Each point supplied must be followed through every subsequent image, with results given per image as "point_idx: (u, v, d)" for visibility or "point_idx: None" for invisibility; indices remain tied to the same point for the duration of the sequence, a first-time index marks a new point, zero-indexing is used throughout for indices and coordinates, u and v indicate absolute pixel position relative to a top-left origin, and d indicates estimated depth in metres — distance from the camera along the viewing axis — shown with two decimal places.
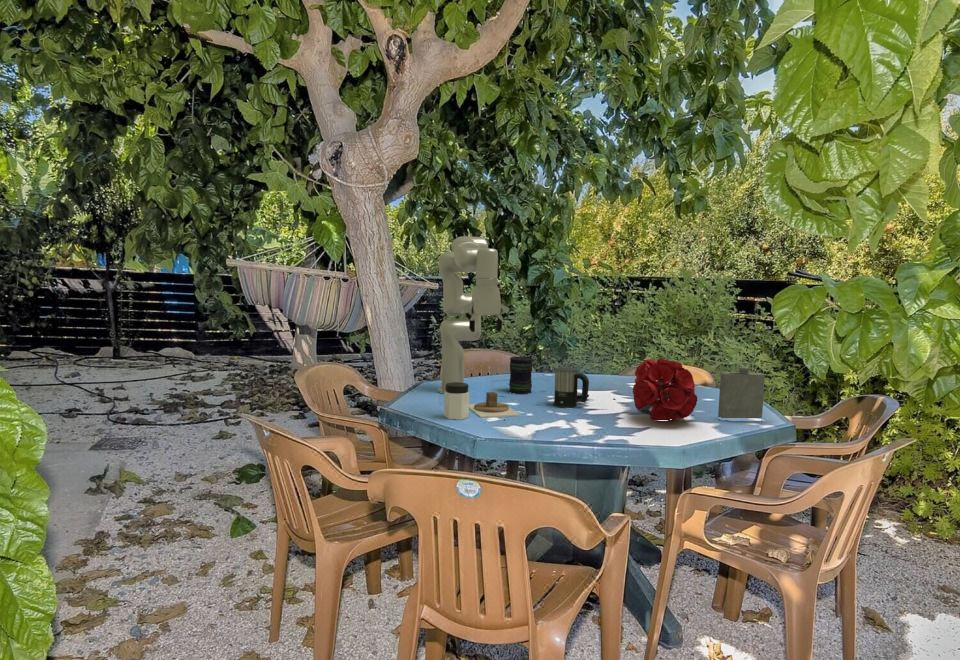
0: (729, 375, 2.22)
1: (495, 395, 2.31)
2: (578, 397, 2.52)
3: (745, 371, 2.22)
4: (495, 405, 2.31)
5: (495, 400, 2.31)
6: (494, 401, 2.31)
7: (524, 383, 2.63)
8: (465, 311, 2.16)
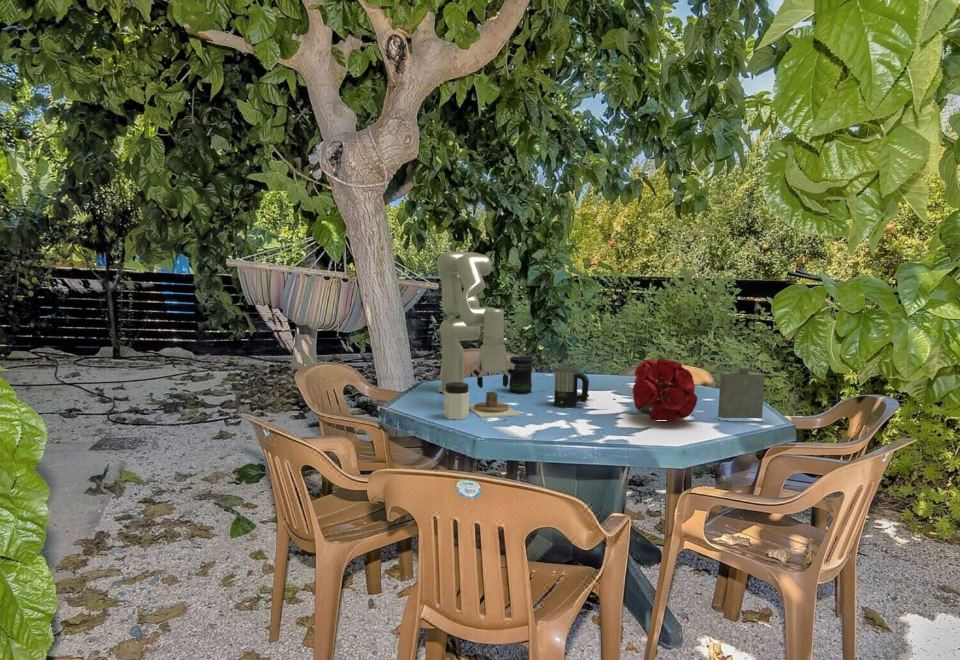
0: (729, 375, 2.22)
1: (495, 395, 2.31)
2: (578, 397, 2.52)
3: (745, 371, 2.22)
4: (495, 405, 2.31)
5: (495, 400, 2.31)
6: (494, 401, 2.31)
7: (524, 383, 2.63)
8: (473, 368, 2.28)
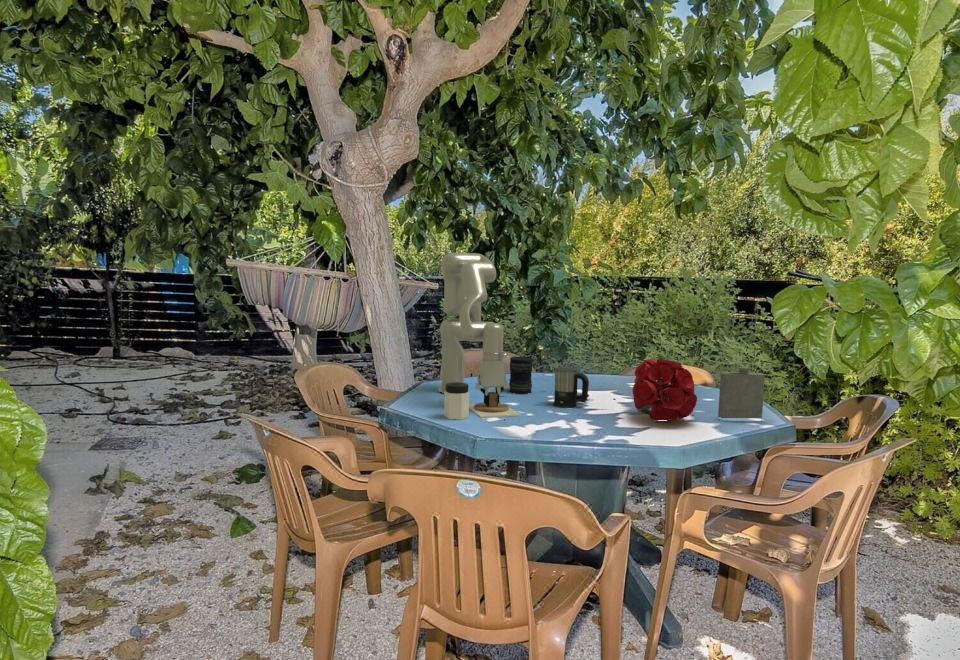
0: (729, 375, 2.22)
1: (495, 395, 2.31)
2: (578, 397, 2.52)
3: (745, 371, 2.22)
4: (495, 405, 2.31)
5: (495, 400, 2.31)
6: (494, 401, 2.31)
7: (524, 383, 2.63)
8: (479, 388, 2.30)
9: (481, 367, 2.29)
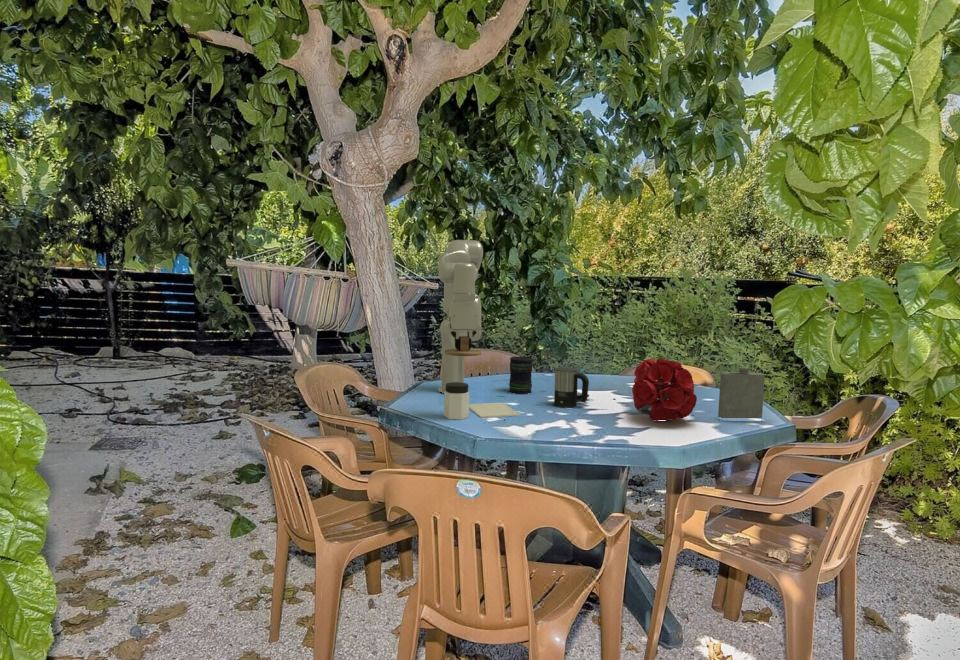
0: (729, 375, 2.22)
1: (467, 339, 2.18)
2: (578, 397, 2.52)
3: (745, 371, 2.22)
4: (467, 349, 2.18)
5: (467, 344, 2.18)
6: (466, 345, 2.18)
7: (524, 383, 2.63)
8: (449, 331, 2.17)
9: (451, 308, 2.16)
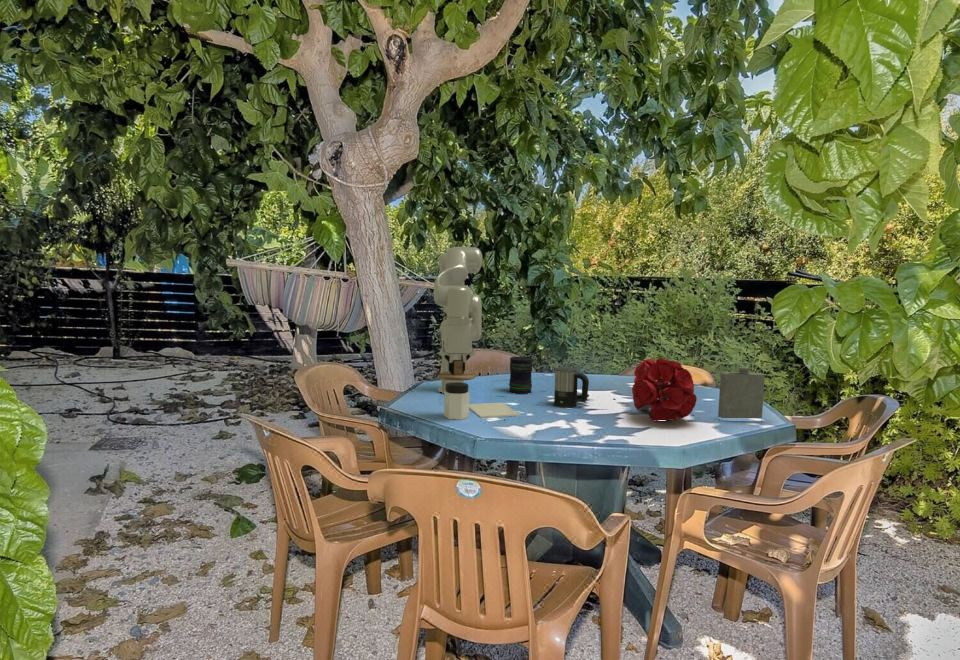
0: (729, 375, 2.22)
1: (460, 362, 2.17)
2: (578, 397, 2.52)
3: (745, 371, 2.22)
4: (460, 373, 2.17)
5: (460, 368, 2.17)
6: (459, 369, 2.17)
7: (524, 383, 2.63)
8: (443, 355, 2.16)
9: (445, 332, 2.15)
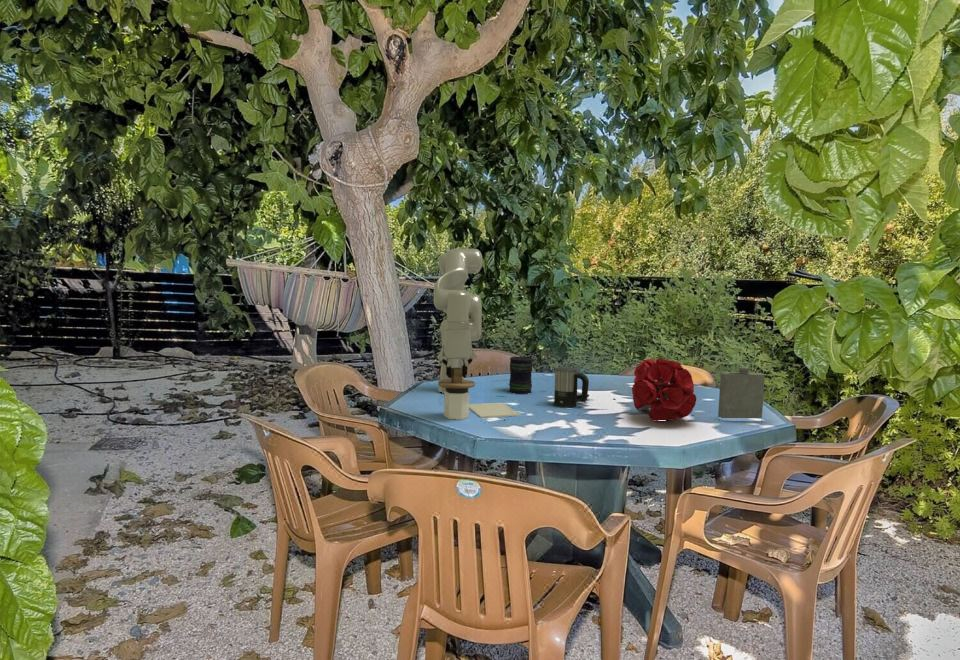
0: (729, 375, 2.22)
1: (460, 370, 2.17)
2: (578, 397, 2.52)
3: (745, 371, 2.22)
4: (460, 381, 2.18)
5: (460, 376, 2.18)
6: (459, 377, 2.18)
7: (524, 383, 2.63)
8: (441, 359, 2.16)
9: (445, 337, 2.16)
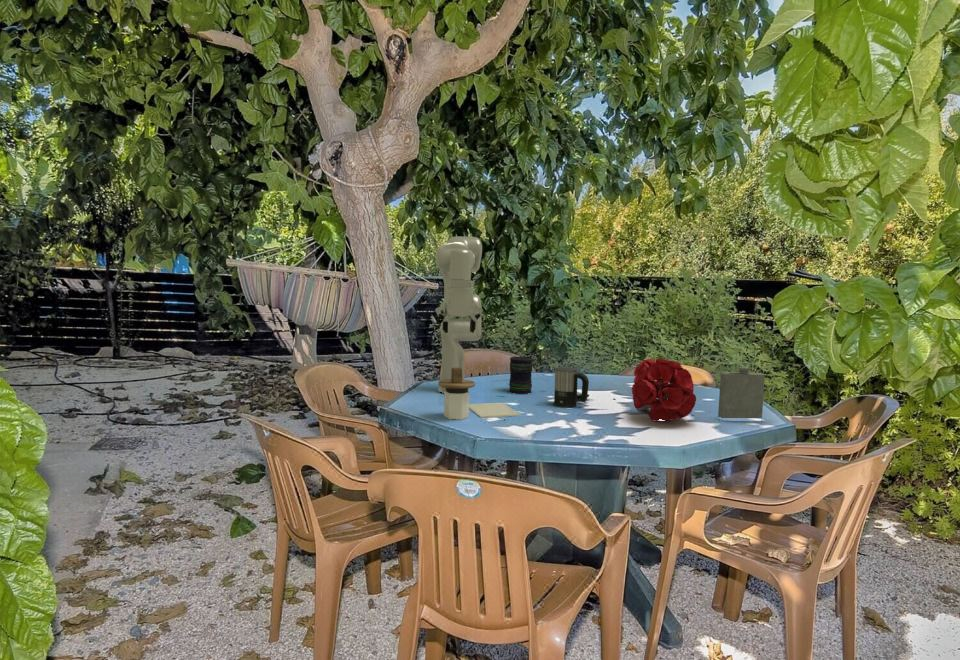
0: (729, 375, 2.22)
1: (460, 370, 2.17)
2: (578, 397, 2.52)
3: (745, 371, 2.22)
4: (460, 381, 2.18)
5: (460, 376, 2.18)
6: (459, 377, 2.18)
7: (524, 383, 2.63)
8: (438, 312, 2.16)
9: (447, 295, 2.16)
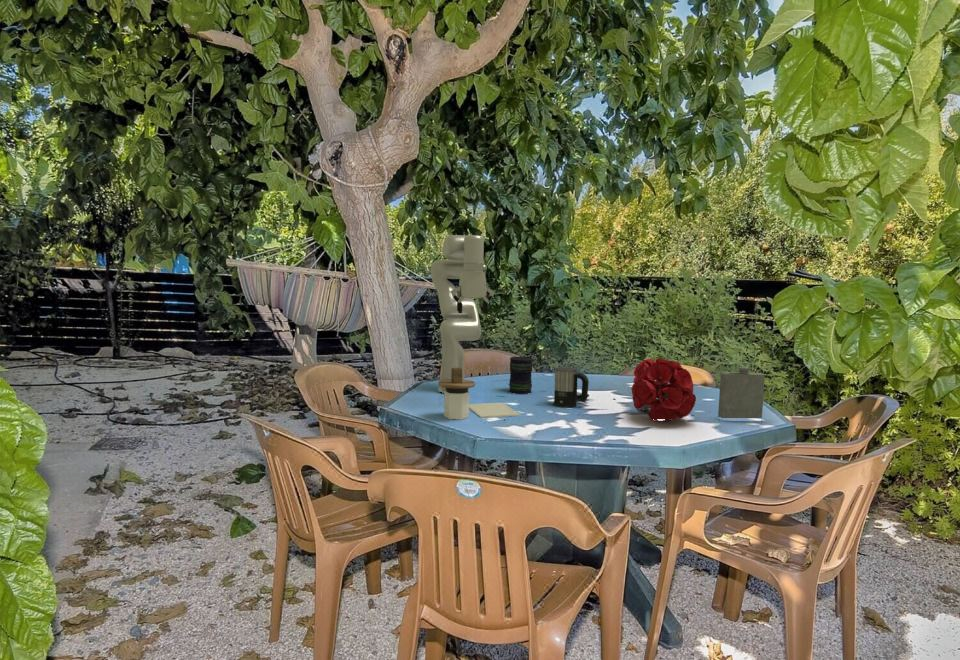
0: (729, 375, 2.22)
1: (460, 370, 2.17)
2: (578, 397, 2.52)
3: (745, 371, 2.22)
4: (460, 381, 2.18)
5: (460, 376, 2.18)
6: (459, 377, 2.18)
7: (524, 383, 2.63)
8: (453, 294, 2.32)
9: (462, 277, 2.32)
